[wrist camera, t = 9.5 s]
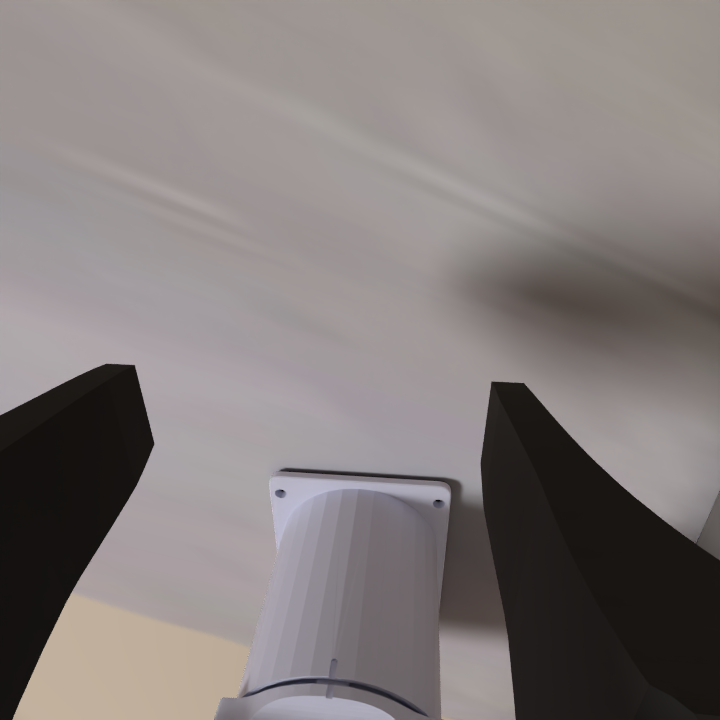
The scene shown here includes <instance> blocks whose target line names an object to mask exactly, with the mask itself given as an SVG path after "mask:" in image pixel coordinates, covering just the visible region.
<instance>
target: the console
mask: <svg viewBox="0 0 720 720" xmlns="http://www.w3.org/2000/svg"><path fill="white" fill-rule="evenodd" d="M697 545H698V546H700V547H701V548H702V549H704V550H705V551H707V552H708V553H710V554H711V555H713V556H714V557H716V558H717V559H719V560H720V492H719V494H718V496H717V499H716V501H715V503H714V506H713V508H712V510H711V512H710V515H709V517H708V519H707V522H706V524H705V526H704V528H703V531H702V533H701V535H700V538H699V540H698V542H697Z"/></svg>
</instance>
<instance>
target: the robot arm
mask: <svg viewBox="0 0 720 720" xmlns="http://www.w3.org/2000/svg"><path fill="white" fill-rule="evenodd" d="M153 446H154V440H153V436H152V432H151V428H150V424H149V420H148V416H147V412H146V408H145V404H144V400H143V396H142V392H141V388H140V384H139V380H138V376H137V372H136V368H135V365H121V364H105V365H102V366H100V367H97V368H95V369H92V370H90V371H88V372H86V373H83V374H81V375H79V376H77V377H75V378H73V379H71V380H69V381H67V382H65V383H63V384H61V385H59V386H57V387H55V388H53V389H51V390H49V391H47V392H45V393H44V394H42V395H40V396H38V397H36V398H34V399H32V400H30V401H28V402H26V403H24V404H22V405H20V406H18V407H16V408H14V409H12V410H10V411H8V412H6V413H4V414H2V415H0V720H12V719H13V717H14V714H15V712H16V709H17V707H18V705H19V702H20V700H21V698H22V695H23V693H24V691H25V689H26V687H27V684H28V682H29V680H30V678H31V675H32V673H33V671H34V669H35V667H36V664H37V662H38V660H39V658H40V655H41V653H42V651H43V649H44V647H45V645H46V643H47V640H48V638H49V636H50V634H51V632H52V630H53V628H54V626H55V624H56V622H57V620H58V618H59V616H60V614H61V612H62V610H63V608H64V606H65V603H66V601H67V600H68V598H69V596H70V594H71V593H72V591H73V589H74V587H75V585H76V584H77V582H78V580H79V578H80V577H81V575H82V574H83V572H84V570H85V569H86V567H87V566H88V564H89V562H90V561H91V559H92V557H93V556H94V554H95V553H96V551H97V549H98V548H99V546H100V545H101V543H102V541H103V540H104V538H105V537H106V535H107V533H108V532H109V530H110V529H111V527H112V525H113V524H114V522H115V520H116V519H117V517H118V516H119V514H120V512H121V511H122V509H123V507H124V506H125V504H126V502H127V501H128V499H129V497H130V496H131V494H132V492H133V491H134V489H135V487H136V486H137V483H138V481H139V479H140V477H141V475H142V472H143V470H144V468H145V466H146V463H147V461H148V458H149V456H150V453H151V451H152V448H153ZM481 477H482V492H483V505H484V512H485V518H486V523H487V528H488V533H489V538H490V544H491V549H492V554H493V559H494V564H495V569H496V574H497V579H498V584H499V589H500V594H501V599H502V604H503V609H504V614H505V621H506V627H507V634H508V641H509V651H510V662H511V672H512V682H513V693H514V704H515V716H516V720H720V560H719V559H717V558H716V557H714V556H713V555H711V554H710V553H708V552H707V551H705V550H704V549H702V548H701V547H700V546H698V545H697V544H695V543H694V542H692V541H691V540H689V539H688V538H687V537H685V536H684V535H682V534H681V533H680V532H678V531H677V530H676V529H674V528H673V527H672V526H670V525H669V524H668V523H666V522H665V521H664V520H662V519H661V518H660V517H659V516H657V515H656V514H655V513H654V512H652V511H651V510H650V509H649V508H647V507H646V506H645V505H644V504H642V503H641V502H640V501H639V500H637V499H636V498H635V497H634V496H633V495H631V494H630V493H629V492H628V491H627V490H626V489H624V488H623V487H622V486H621V485H620V484H619V483H618V482H617V481H616V480H614V479H613V478H612V477H611V476H610V475H609V474H608V473H607V472H606V471H605V470H604V469H603V468H602V467H600V466H599V465H598V464H597V463H596V462H595V461H594V460H593V459H592V458H591V457H590V456H589V455H588V454H587V453H586V452H585V451H584V450H583V449H582V448H581V447H580V446H579V445H578V444H577V443H576V441H575V440H574V439H573V438H572V437H571V436H570V435H569V434H568V433H567V432H566V431H565V430H564V429H563V427H562V426H561V425H560V424H559V423H558V422H557V421H556V420H555V418H554V417H553V416H552V415H551V414H550V413H549V412H548V410H547V409H546V408H545V407H544V406H543V405H542V403H541V402H540V401H539V400H538V399H537V398H536V396H535V395H534V394H533V393H532V392H531V391H530V390H529V388H528V387H527V386H526V385H525V384H524V383H510V382H492V383H491V390H490V398H489V405H488V412H487V420H486V427H485V435H484V442H483V449H482V457H481ZM269 488H270V496H271V505H272V513H273V521H274V529H275V537H276V546H277V556H276V560H275V564H274V567H273V571H272V574H271V578H270V581H269V585H268V588H267V592H266V596H265V599H264V603H263V606H262V610H261V613H260V617H259V620H258V624H257V628H256V631H255V635H254V638H253V642H252V645H251V649H250V653H249V656H248V660H247V663H246V667H245V671H244V674H243V677H242V681H241V685H240V688H239V692H238V695H237V698H222V699H220V702H219V705H218V709H217V712H216V715H215V718H214V720H442V719H441V690H440V651H439V609H440V600H441V590H442V580H443V571H444V561H445V552H446V542H447V532H448V523H449V513H450V503H451V488H450V486H449V485H448V484H447V483H445V482H441V481H426V480H410V479H394V478H378V477H362V476H346V475H330V474H314V473H298V472H282V471H280V472H275V473H273V474H272V475H271V478H270V480H269ZM278 489H281V490H284V491H285V492H282V491H279V490H278ZM435 500H442V502H436V501H435Z"/></svg>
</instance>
